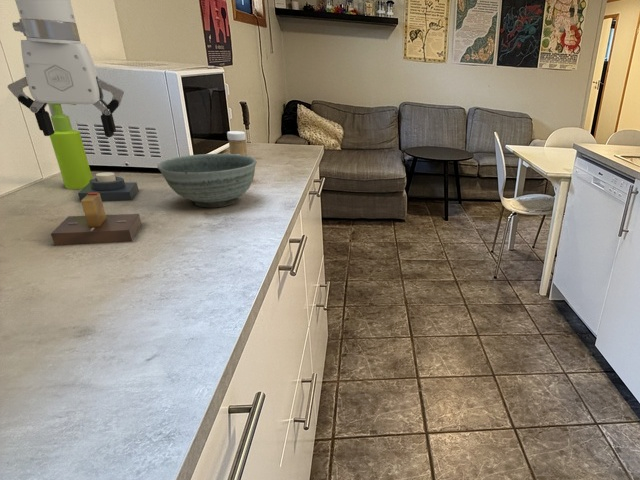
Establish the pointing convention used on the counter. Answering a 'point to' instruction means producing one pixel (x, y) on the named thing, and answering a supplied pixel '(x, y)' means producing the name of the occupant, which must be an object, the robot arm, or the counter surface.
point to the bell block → (111, 190)
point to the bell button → (105, 177)
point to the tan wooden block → (93, 209)
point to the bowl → (209, 177)
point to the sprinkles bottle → (237, 142)
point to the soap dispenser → (69, 151)
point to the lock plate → (97, 230)
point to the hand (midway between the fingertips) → (80, 135)
